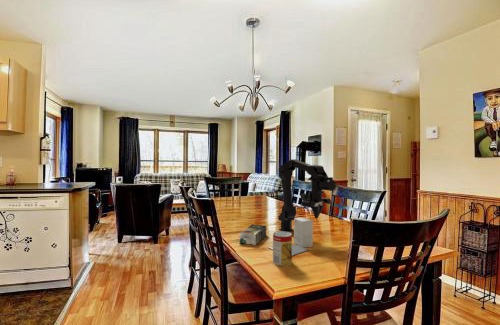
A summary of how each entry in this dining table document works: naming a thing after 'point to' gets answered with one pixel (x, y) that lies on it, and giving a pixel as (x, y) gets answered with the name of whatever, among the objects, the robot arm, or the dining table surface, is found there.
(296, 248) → the mat
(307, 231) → the small box
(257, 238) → the juice carton
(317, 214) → the robot arm
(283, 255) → the canned food
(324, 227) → the dining table surface
